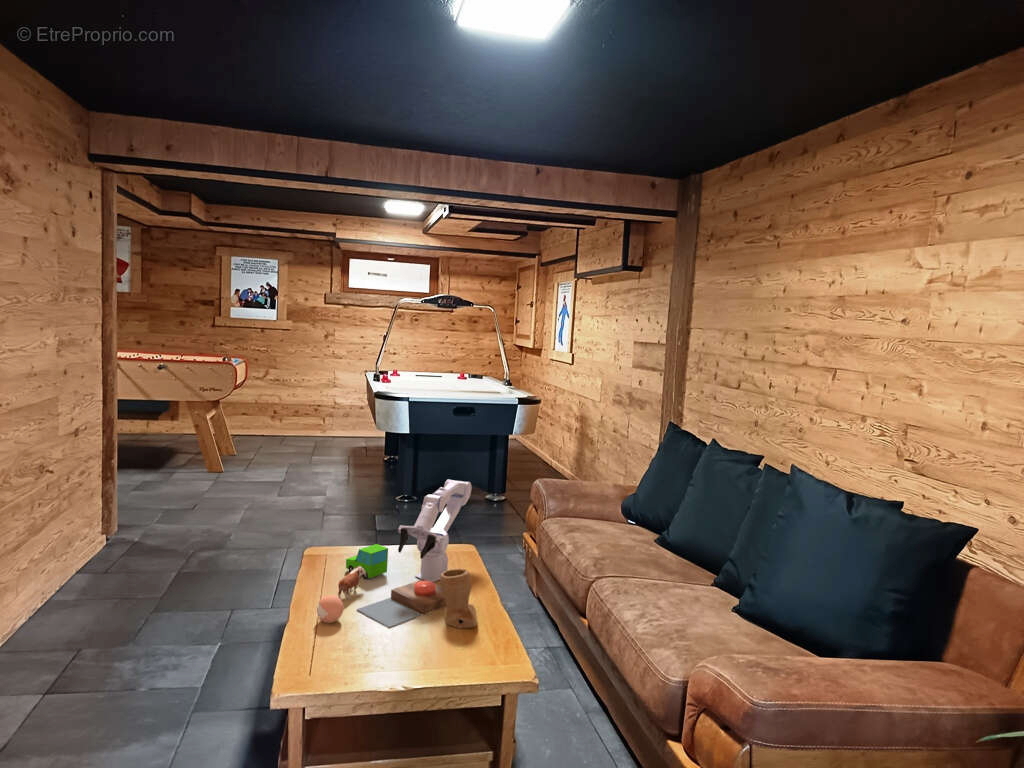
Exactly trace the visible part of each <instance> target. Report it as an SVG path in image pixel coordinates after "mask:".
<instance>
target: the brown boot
mask: <svg viewBox="0 0 1024 768" xmlns="http://www.w3.org/2000/svg"><path fill="white" fill-rule="evenodd" d="M471 586H472V583H471V574H470V571H468V570H467V569H465V568H451V569H447V570H446V571H444V572H443V573H442V574H441V577H440V587H441V588H442V591H443V594H444V597H445V601H446V604H447V606H445V607H444V619H445V620H444V621H445V623H446V624H447V625H449V626H452V627H454V628H457V629H468V628H469V629H470V628H474V627H476V626H477V625H478V616H477V610H476V607H475V606H474V605H473V604H470V603H469V600H470V599H469V598H470V594H471V588H472V587H471Z"/></svg>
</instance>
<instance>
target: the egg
mask: <svg viewBox="0 0 1024 768" xmlns="http://www.w3.org/2000/svg"><path fill="white" fill-rule="evenodd" d="M340 598H341V597H340ZM340 598H338V596H337V595H334V594H329V595H325V596H323V597H321V598H320V599H319V600H318V602H319V603H318V605H317V607H316V613H317V615H318V617H319V618H318V619H319V621H321V622H322V623H324V624H325V623H326V624H331V623H334V622H335V623H336V621H338V620H339V619H340V618H341V616H343V613H344V602H343V601H342V598H341V599H340Z"/></svg>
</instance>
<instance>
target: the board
mask: <svg viewBox="0 0 1024 768" xmlns="http://www.w3.org/2000/svg"><path fill="white" fill-rule="evenodd" d="M419 581H426V580H424V579H419V580H416V581H413V582H410V583H407V584H404V585H402V586H398V587H396V588H393V589H391V590H390V598H391V599H393V600H395V601H397V602H399V603H401V604H403V605H405V606H407V607H409V608H411V609H413V610H415V611H417V612H419V613H421V614H423V615H422V616H424V615H426V613H427V614H430V613H432V612H434V610H435V611H437V610H439V609H440V610H441V609H443V608H446V607H447V604H446V601H445V597H444V594H443V591H442V588H441V585H438V584H436V590H435V593H434V594H432V595H429V596H421V595H417V594H415V593H414V584H415V583H416V582H419ZM429 612H430V613H429Z"/></svg>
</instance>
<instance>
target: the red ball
mask: <svg viewBox="0 0 1024 768" xmlns="http://www.w3.org/2000/svg"><path fill="white" fill-rule="evenodd" d="M418 581H419V580H418ZM415 582H416V581H415ZM436 585H437V584H436V583H435V582H431V581H419V582H416V583H415V584H414V593H415V594H417V595H421V596H429V595H432V594H434V593H435V590H436Z"/></svg>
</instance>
